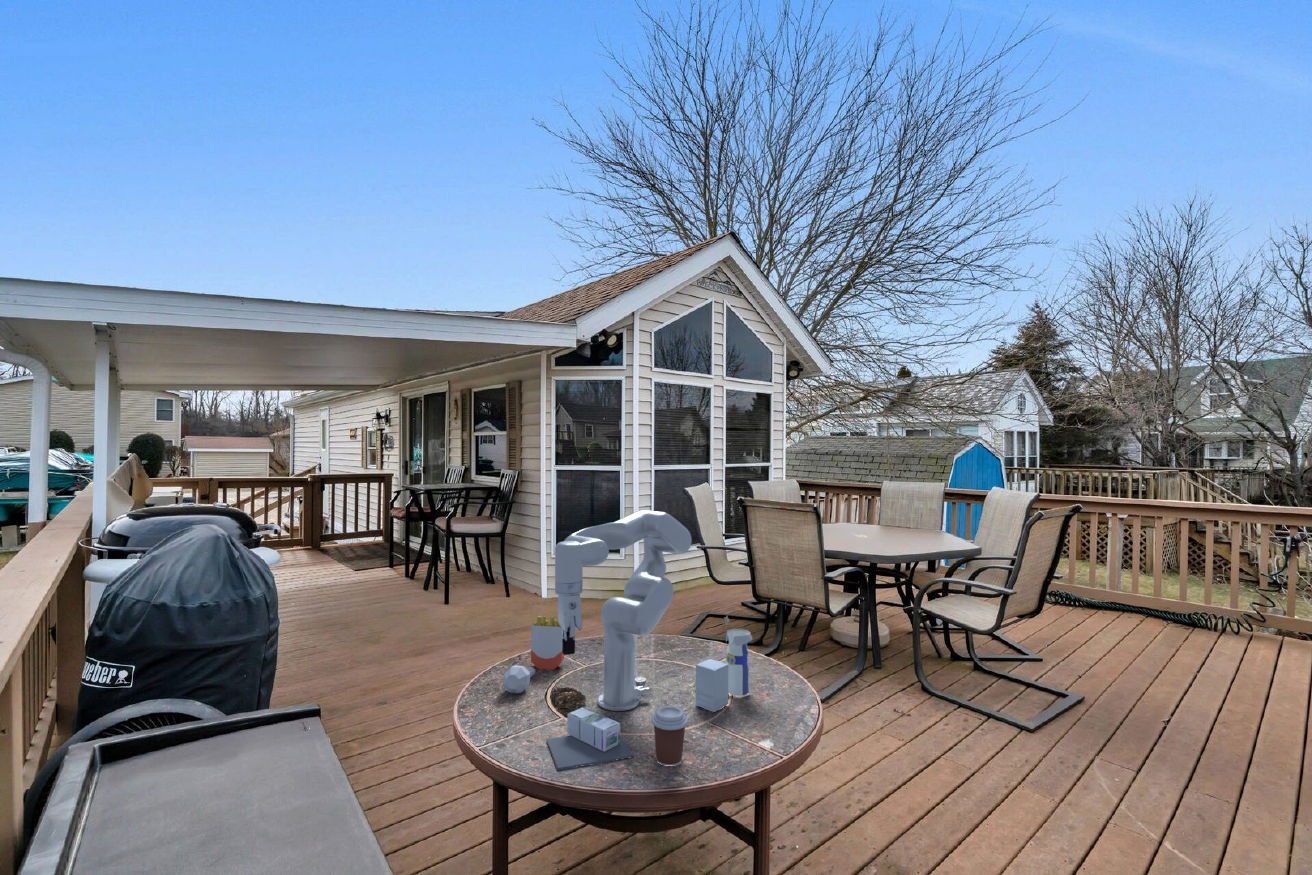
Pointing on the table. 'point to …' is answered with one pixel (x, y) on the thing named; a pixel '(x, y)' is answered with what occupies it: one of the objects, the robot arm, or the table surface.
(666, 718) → the coffee cup
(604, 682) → the robot arm
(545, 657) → the french fries container
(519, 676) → the chicken leg
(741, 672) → the spray bottle
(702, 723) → the table surface
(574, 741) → the rubber mat
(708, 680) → the supplement box
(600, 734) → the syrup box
